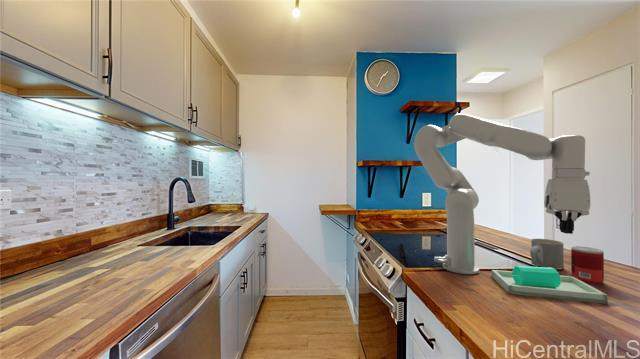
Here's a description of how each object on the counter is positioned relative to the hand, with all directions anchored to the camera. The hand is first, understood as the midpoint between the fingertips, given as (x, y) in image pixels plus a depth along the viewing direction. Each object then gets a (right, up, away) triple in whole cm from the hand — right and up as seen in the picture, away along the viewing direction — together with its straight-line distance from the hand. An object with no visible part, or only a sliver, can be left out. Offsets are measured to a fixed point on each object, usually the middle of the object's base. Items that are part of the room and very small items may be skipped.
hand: (566, 232), depth 83 cm
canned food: (+15, -19, +9) cm, 26 cm away
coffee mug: (+14, -19, +25) cm, 34 cm away
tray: (-6, -18, +1) cm, 19 cm away
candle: (-3, -14, 0) cm, 15 cm away
